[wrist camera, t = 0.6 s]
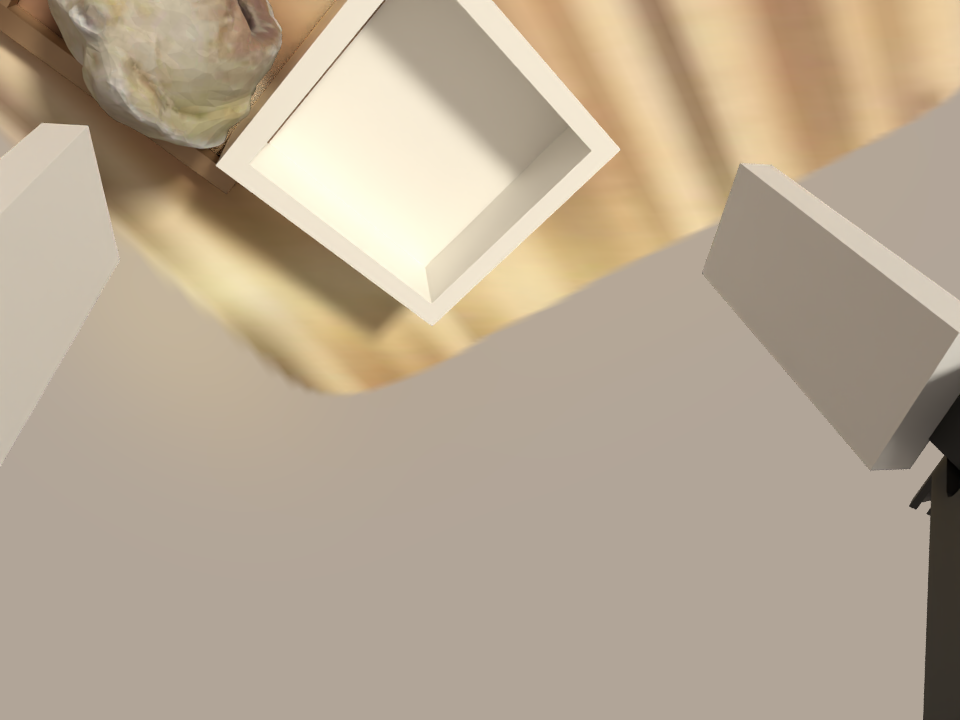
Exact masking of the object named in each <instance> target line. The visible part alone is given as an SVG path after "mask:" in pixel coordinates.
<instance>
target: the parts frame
mask: <svg viewBox="0 0 960 720" xmlns="http://www.w3.org/2000/svg"><path fill="white" fill-rule="evenodd" d="M18 1H19V0H0V31H2V32H3V33H4V34H6V35H7V36H9V37H10V38H11V39H13V40H14V41H15V42H17V43H18V44H20V45H21V46H22V47H24V48H25V49H27V50H28V51H29V52H31V53H32V54H33V55H35V56H36V57H38V58H39V59H40V60H42V61H43V62H44V63H46V64H47V65H49V66H50V67H51V68H53V69H54V70H56V71H57V72H58V73H60V74H61V75H62V76H64V77H65V78H67V79H68V80H69V81H71V82H72V83H73V84H75V85H76V86H78V87H79V88H80V89H82V90H83V91H85V92H86V93H87V94H89V95H90V96H91V97H93V96H92V94H91V93H90V91H89V90H88V88H87V86H86V84H85V82H84V79H83V73H82V67H83V66H82V65H81V64H80V63H79V62H78V61H77V60H76V58H75V57H74V56H73V54H72V53H71V52H70V50H69V49H68V47H67V45H66V43H65V41H64V40H63V39H62V38H61V37H59V36H58V35H57V34H55V33H54V32H53V31H51V30H50V29H49V28H47V27H46V26H45V25H43V24H42V23H41V22H39V21H38V20H37V19H36V18H34V17H33V16H32V15H30V14H29V13H28V12H26V11H25V10H24V9H22V8H21V7H20V6H18V5H17V3H18ZM385 1H386V0H383V2H382V3H381V4H380V5H379V7H378V8H377V9H376V10H375V11H374V13H373V14H372V15H371V16H370V17H369V19H368V20H367V21H366V22H365V24H364V25H363V26H362V27H361V28H360V30H359V31H358V32H357V33H356V35H355V36H354V37H353V38H352V39H351V41H350V42H349V43H348V44H347V46H346V47H345V48H344V49H343V50H342V52H341V53H340V54H339V55H338V57H337V58H336V59H335V60H334V61H333V63H332V64H331V65H330V66H329V68H328V69H327V70H326V71H325V72H324V74H323V75H322V76H321V77H320V78H319V80H318V81H317V82H316V83H315V85H314V86H313V87H312V88H311V89H310V91H309V92H308V93H307V94H306V96H305V97H304V98H303V99H302V100H301V102H300V103H299V104H298V105H297V107H296V108H295V109H294V110H293V111H292V113H291V114H290V115H289V116H288V118H287V119H286V120H285V121H284V122H283V124H282V125H281V126H280V127H279V128H278V130H277V131H276V132H275V133H274V135H273V136H272V137H271V138H270V139H269V141H268V142H267V143H269V142H270V141H271V140H272V138H273V137H274V136H275V135H276V134H277V132H278V131H279V130H280V129H281V127H282V126H283V125H284V124H285V123H286V121H287V120H288V119H289V118H290V117H291V115H292V114H293V113H294V112H295V110H296V109H297V108H298V107H299V106H300V104H301V103H302V102H303V101H304V99H305V98H306V97H307V96H308V95H309V93H310V92H311V91H312V90H313V89H314V87H315V86H316V85H317V84H318V82H319V81H320V80H321V79H322V78H323V76H324V75H325V74H326V73H327V71H328V70H329V69H330V68H331V67H332V65H333V64H334V63H335V62H336V60H337V59H338V58H339V57H340V56H341V54H342V53H343V52H344V51H345V50H346V48H347V47H348V46H349V45H350V43H351V42H352V41H353V40H354V39H355V37H356V36H357V35H358V34H359V32H360V31H361V30H362V29H363V28H364V26H365V25H366V24H367V23H368V22H369V20H370V19H371V18H372V17H373V15H374V14H375V13H376V12H377V11H378V9H379V8H380V7H381V6H382V4H383V3H384V2H385ZM93 98H94V97H93ZM94 99H95V98H94ZM145 136H146V135H145ZM147 137H148V136H147ZM148 138H149V139H151V140H152V141H154V142H155V143H156V144H158V145H159V146H161V147H162V148H163V149H165V150H166V151H167V152H169V153H170V154H172V155H173V156H174V157H176V158H177V159H178V160H180V161H181V162H183V163H184V164H185V165H187V166H188V167H190V168H191V169H192V170H194V171H195V172H196V173H198V174H199V175H201V176H202V177H203V178H205V179H206V180H207V181H209V182H210V183H212V184H213V185H214V186H216V187H217V188H219V189H220V190H221V191H223V192H224V193H225V194H227V193H228V192H229V191H230V190H231V188H232V187H233V186H234V185H235V183H236V182H237V181H236V180H234V179H233V178H232V177H230V176H229V175H228V174H226V173H225V172H223V171H222V170H221V169H219V168H218V167H217V166H216V164H217V162H218V160H219V158H220V157H219V156H218V155H216V154H215V153H214V152H212V151H211V150H210V149H208V148H204V149H199V148H193V147H187V146H181V145H176V144H173V143H171V142H168V141H164V140H159V139H155V138H151V137H148Z"/></svg>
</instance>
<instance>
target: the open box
mask: <svg viewBox="0 0 960 720" xmlns="http://www.w3.org/2000/svg"><path fill="white" fill-rule="evenodd" d="M382 2H383V0H336V1H335V2H334V3H333V4H332V6H331V7H330V8H329V9H328V11H327V12H326V13H325V14H324V16H323V17H322V18H321V20H320V21H319V22H318V23H317V25H316V26H315V27H314V28H313V30H312V31H311V32H310V33H309V35H308V36H307V37H306V39H305V40H304V41H303V42H302V44H301V45H300V46H299V47H298V49H297V50H296V51H295V52H294V54H293V55H292V56H291V58H290V59H289V60H288V61H287V63H286V64H285V65H284V66H283V68H282V69H281V70H280V71H279V73H278V74H277V75H276V77H275V78H274V79H273V80H272V82H271V83H270V84H269V85H268V87H267V88H266V89H265V90H264V92H263V93H262V94H261V96H260V97H259V98H258V99H257V101H256V102H255V103H254V104H253V106H252V107H251V109H250V113H249V114H248V116H247V117H246V118H244V119H243V120H241V121H240V122H239V123H238V125H237V126H236V127H235V128H234V130H233V131H232V133H231V135H230V137H229V139H228V141H227V143H226V145H225V147H224V149H223V151H222V154H221V156H220V158H219V160H218V162H217V164H216V166H217V167H218V168H219V169H221V170H222V171H223V172H225V173H226V174H228V175H229V176H230V177H232V178H233V179H234V180H236V181H237V182H238V183H240V184H241V185H242V186H244V187H245V188H246V189H248V190H249V191H250V192H252V193H253V194H254V195H256V196H257V197H259V198H260V199H261V200H263V201H264V202H265V203H267V204H268V205H269V206H271V207H272V208H273V209H275V210H276V211H277V212H279V213H280V214H281V215H283V216H284V217H285V218H287V219H288V220H290V221H291V222H292V223H294V224H295V225H296V226H298V227H299V228H300V229H302V230H303V231H304V232H306V233H307V234H308V235H310V236H311V237H312V238H314V239H315V240H316V241H318V242H319V243H321V244H322V245H323V246H325V247H326V248H327V249H329V250H330V251H331V252H333V253H334V254H335V255H337V256H338V257H339V258H341V259H342V260H343V261H345V262H346V263H347V264H349V265H350V266H352V267H353V268H354V269H356V270H357V271H358V272H360V273H361V274H362V275H364V276H365V277H366V278H368V279H369V280H370V281H372V282H373V283H374V284H376V285H377V286H378V287H380V288H381V289H383V290H384V291H385V292H387V293H388V294H389V295H391V296H392V297H393V298H395V299H396V300H397V301H399V302H400V303H401V304H403V305H404V306H405V307H407V308H408V309H410V310H411V311H412V312H414V313H415V314H416V315H418V316H419V317H420V318H422V319H423V320H424V321H426V322H427V323H428V324H430V325H431V326H433V325H434V324H435V323H436V322H437V321H438V320H440V319H441V318H442V317H443V316H444V315H445V314H446V313H447V312H448V311H449V310H450V309H451V308H452V307H453V306H454V305H456V304H457V303H458V302H459V301H460V300H461V299H462V298H463V297H464V296H465V295H466V294H467V293H468V292H469V291H470V290H472V289H473V288H474V287H475V286H476V285H477V284H478V283H479V282H480V281H481V280H482V279H483V278H484V277H485V276H486V275H488V274H489V273H490V272H491V271H492V270H493V269H494V268H495V267H496V266H497V265H498V264H499V263H500V262H501V261H503V260H504V259H505V258H506V257H507V256H508V255H509V254H510V253H511V252H512V251H513V250H514V249H515V248H516V247H517V246H519V245H520V244H521V243H522V242H523V241H524V240H525V239H526V238H527V237H528V236H529V235H530V234H531V233H532V232H533V231H535V230H536V229H537V228H538V227H539V226H540V225H541V224H542V223H543V222H544V221H545V220H546V219H547V218H548V217H549V216H551V215H552V214H553V213H554V212H555V211H556V210H557V209H558V208H559V207H560V206H561V205H562V204H563V203H564V202H565V201H567V200H568V199H569V198H570V197H571V196H572V195H573V194H574V193H575V192H576V191H577V190H578V189H579V188H580V187H581V186H583V185H584V184H585V183H586V182H587V181H588V180H589V179H590V178H591V177H592V176H593V175H594V174H595V173H596V172H597V171H599V170H600V169H601V168H602V167H603V166H604V165H605V164H606V163H607V162H608V161H609V160H610V159H611V158H612V157H613V156H615V155H616V154H617V153H618V152H619V151H620V148H619V147H618V146H617V145H616V144H615V143H614V141H613V140H612V139H611V138H610V137H609V136H608V134H607V133H606V132H605V131H604V130H603V129H602V127H601V126H600V125H599V124H598V123H597V122H596V121H595V119H594V118H593V117H592V116H591V115H590V114H589V112H588V111H587V110H586V109H585V108H584V107H583V105H582V104H581V103H580V102H579V101H578V100H577V98H576V97H575V96H574V95H573V94H572V93H571V91H570V90H569V89H568V88H567V87H566V86H565V85H564V83H563V82H562V81H561V80H560V79H559V78H558V76H557V75H556V74H555V73H554V72H553V71H552V69H551V68H550V67H549V66H548V65H547V64H546V62H545V61H544V60H543V59H542V58H541V57H540V56H539V54H538V53H537V52H536V51H535V50H534V49H533V47H532V46H531V45H530V44H529V43H528V42H527V40H526V39H525V38H524V37H523V36H522V35H521V33H520V32H519V31H518V30H517V29H516V28H515V27H514V25H513V24H512V23H511V22H510V21H509V20H508V18H507V17H506V16H505V15H504V14H503V13H502V11H501V10H500V9H499V8H498V7H497V6H496V4H495V3H494V2H493V1H492V0H386V1H385V2H384V3H383V4H382V6H381V7H380V8H379V9H378V11H377V12H376V13H375V14H374V15H373V17H372V18H371V19H370V20H369V22H368V23H367V24H366V25H365V26H364V28H363V29H362V30H361V31H360V32H359V34H358V35H357V36H356V37H355V39H354V40H353V41H352V42H351V43H350V45H349V46H348V47H347V48H346V50H345V51H344V52H343V53H342V54H341V56H340V57H339V58H338V59H337V60H336V62H335V63H334V64H333V65H332V67H331V68H330V69H329V70H328V71H327V73H326V74H325V75H324V76H323V78H322V79H321V80H320V81H319V82H318V84H317V85H316V86H315V87H314V89H313V90H312V91H311V92H310V93H309V95H308V96H307V97H306V98H305V99H304V101H303V102H302V103H301V104H300V106H299V107H298V108H297V109H296V110H295V112H294V113H293V114H292V115H291V117H290V118H289V119H288V120H287V121H286V123H285V124H284V125H283V126H282V127H281V129H280V130H279V131H278V132H277V134H276V135H275V136H274V137H273V138H272V140H271V141H270V142H269V143H267V142H268V141H269V139H270V138H271V137H272V136H273V135H274V133H275V132H276V131H277V130H278V128H279V127H280V126H281V125H282V124H283V122H284V121H285V120H286V119H287V118H288V116H289V115H290V114H291V113H292V111H293V110H294V109H295V108H296V107H297V105H298V104H299V103H300V102H301V100H302V99H303V98H304V97H305V96H306V94H307V93H308V92H309V91H310V89H311V88H312V87H313V86H314V85H315V83H316V82H317V81H318V80H319V78H320V77H321V76H322V75H323V74H324V72H325V71H326V70H327V69H328V68H329V66H330V65H331V64H332V63H333V61H334V60H335V59H336V58H337V57H338V55H339V54H340V53H341V52H342V50H343V49H344V48H345V47H346V46H347V44H348V43H349V42H350V41H351V39H352V38H353V37H354V36H355V35H356V33H357V32H358V31H359V30H360V28H361V27H362V26H363V25H364V24H365V22H366V21H367V20H368V19H369V17H370V16H371V15H372V14H373V13H374V11H375V10H376V9H377V8H378V7H379V5H380V4H381V3H382Z"/></svg>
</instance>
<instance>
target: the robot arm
mask: <svg viewBox="0 0 960 720" xmlns="http://www.w3.org/2000/svg"><path fill="white" fill-rule="evenodd" d="M119 261H120V258H119V254H118V250H117V245H116V241H115V237H114V233H113V228H112V224H111V220H110V216H109V211H108V207H107V203H106V199H105V194H104V190H103V186H102V182H101V177H100V173H99V169H98V165H97V160H96V156H95V152H94V148H93V143H92V139H91V135H90V131H89V126H86V125H69V124H52V123H41V124H40V125H39V126H38V127H36V128H35V129H34V130H33V131H32V132H31V133H29V134H28V135H27V136H26V137H25V138H24V139H22V140H21V141H20V142H19V143H18V144H16V145H15V146H14V147H13V148H12V149H11V150H9V151H8V152H7V153H6V154H5V155H4V156H2V157H1V158H0V467H1V465H2V463H3V462H4V460H5V458H6V456H7V455H8V453H9V451H10V450H11V448H12V446H13V444H14V443H15V441H16V439H17V438H18V436H19V434H20V432H21V430H22V429H23V427H24V425H25V424H26V422H27V420H28V419H29V417H30V415H31V413H32V412H33V410H34V408H35V406H36V405H37V403H38V401H39V399H40V398H41V396H42V394H43V392H44V391H45V389H46V387H47V385H48V384H49V382H50V380H51V379H52V377H53V375H54V373H55V372H56V370H57V368H58V367H59V365H60V363H61V361H62V360H63V358H64V356H65V354H66V353H67V351H68V349H69V348H70V346H71V344H72V342H73V341H74V339H75V337H76V336H77V334H78V332H79V330H80V328H81V327H82V325H83V323H84V322H85V320H86V318H87V316H88V314H89V313H90V311H91V310H92V308H93V306H94V304H95V302H96V301H97V299H98V297H99V296H100V294H101V292H102V291H103V289H104V287H105V285H106V284H107V282H108V280H109V278H110V277H111V275H112V273H113V271H114V270H115V268H116V266H117V265H118V263H119ZM702 274H703V275H704V276H705V277H706V279H707V280H708V281H709V282H710V283H711V284H712V286H713V287H714V288H715V289H716V290H717V291H718V293H719V294H720V295H721V296H722V297H723V298H724V300H725V301H726V302H727V303H728V304H729V306H730V307H731V308H732V309H733V310H734V311H735V313H736V314H737V315H738V316H739V317H740V318H741V320H742V321H743V322H744V323H745V324H746V326H747V327H748V328H749V329H750V330H751V331H752V333H753V334H754V335H755V336H756V337H757V338H758V339H759V341H760V342H761V343H762V344H763V345H764V347H765V348H766V349H767V350H768V351H769V352H770V354H771V355H772V356H773V357H774V358H775V360H776V361H777V362H778V363H779V364H780V365H781V366H782V368H783V369H784V370H785V371H786V372H787V374H788V375H789V376H790V377H791V378H792V379H793V380H794V382H795V383H796V384H797V385H798V386H799V388H800V389H801V390H802V391H803V392H804V393H805V395H806V396H807V397H808V398H809V399H810V401H811V402H812V403H813V404H814V405H815V406H816V408H817V409H818V410H819V411H820V412H821V413H822V415H823V416H824V417H825V418H826V419H827V420H828V422H829V423H830V424H831V425H832V426H833V427H834V429H835V430H836V431H837V432H838V433H839V435H840V436H841V437H842V438H843V439H844V440H845V442H846V443H847V444H848V445H849V446H850V447H851V449H852V450H853V451H854V452H855V453H856V454H857V456H858V457H859V458H860V459H861V460H862V461H863V463H864V464H865V465H866V466H867V467H868V469H869V470H892V469H893V470H894V469H910V468H911V467H912V465H913V464H914V462H915V461H916V459H917V458H918V456H919V455H920V454H921V452H922V451H923V449H924V448H925V446H926V445H927V444H928V442H929V441H931V442H932V443H933V444H934V445H935V446H936V447H937V448H938V449H939V450H940V451H941V452H942V453H943V454H944V457H943V458H942V459H941V461H940V462H939V464H938V465H937V466H936V468H935V469H934V470H933V472H932V473H931V475H930V476H929V477H928V479H927V480H926V481H925V483H924V484H923V486H922V487H921V489H920V490H919V491H918V493H917V494H916V495H915V497H914V498H913V500H912V501H911V504H910V505H909V506H910V507H912V508H914V509H917V508H918V506H919V505H920V504H921V502H926V501H931V508H930V509H929V511H928V512H927V514H928V515H930V516H931V517H930V545H929V573H928V600H927V601H928V602H927V628H926V656H925V684H924V714H923V720H960V300H958V299H957V298H955V297H954V296H953V295H951V294H950V293H948V292H947V291H946V290H944V289H943V288H941V287H940V286H939V285H937V284H936V283H935V282H933V281H932V280H930V279H929V278H928V277H926V276H925V275H923V274H922V273H921V272H919V271H918V270H917V269H915V268H914V267H912V266H911V265H910V264H908V263H907V262H905V261H904V260H903V259H901V258H900V257H898V256H897V255H896V254H894V253H893V252H891V251H890V250H889V249H887V248H886V247H885V246H883V245H882V244H880V243H879V242H877V241H876V240H875V239H874V238H872V237H871V236H869V235H868V234H867V233H865V232H864V231H862V230H861V229H860V228H858V227H857V226H855V225H854V224H853V223H851V222H850V221H849V220H847V219H846V218H844V217H843V216H841V215H840V214H839V213H838V212H836V211H835V210H833V209H832V208H831V207H829V206H828V205H826V204H825V203H823V202H822V201H821V200H819V199H818V198H817V197H815V196H814V195H812V194H811V193H809V192H808V191H807V190H806V189H804V188H803V187H801V186H800V185H799V184H797V183H796V182H795V181H793V180H792V179H790V178H789V177H788V176H786V175H785V174H783V173H782V172H781V171H779V170H778V169H776V168H775V167H774V166H772V165H765V164H748V163H740V165H739V168H738V171H737V174H736V177H735V180H734V182H733V185H732V188H731V191H730V194H729V197H728V200H727V203H726V205H725V208H724V211H723V214H722V217H721V220H720V223H719V226H718V229H717V232H716V234H715V237H714V240H713V243H712V246H711V249H710V252H709V255H708V257H707V260H706V263H705V266H704V269H703V272H702Z"/></svg>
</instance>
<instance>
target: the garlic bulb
mask: <svg viewBox="0 0 960 720" xmlns="http://www.w3.org/2000/svg"><path fill="white" fill-rule="evenodd" d="M48 4H49V8H50V11H51V14H52V16H53V18H54V20H55V22H56V23H57V25H58V27H59V30H60V32H61V34H62V36H63V38H64V41H65V43H66V45H67V47H68V49H69V50H70V52H71V53H72V54H73V56H74V57H75V58H76V60H77V61H78V62H79V63H80V64H81V65H82V66H83V67H82V73H83V79H84V82H85V84H86V86H87V88H88V90H89V91H90V93H91V94H92V96H93V97H94V98H95V100H96V101H97V102H98V104H99V105H100V107H101V108H102V109H103V110H104V111H105V112H106V113H107V114H108V115H109V116H111V117H112V118H113V119H114V120H116V121H118V122H120V123H122V124H125V125H127V126H129V127H131V128H133V129H134V130H136V131H138V132H140V133H142V134H144V135H146V136H148V137H151V138H155V139H159V140H164V141H168V142H171V143H173V144H176V145H181V146H187V147H193V148H199V149H204V148H211V147H216V146H219V145H221V144H222V143H224V141H225V139H226V136H227V133H228V131H229V129H230V128H231V127H233V126H234V125H236V124H237V123H239V122H240V121H241V120H243V119H244V118H246V117H247V116H248V114H249V113H250V109H251V104H250V103H251V96H252V95H253V94H254V92H255V90H256V85H257V84H258V83H259V81H260V80H261V79H262V78H263V77H264V76H265V75H266V73H267V72H268V71H269V70H270V69H271V67H272V65H273V62H274V60H275V58H276V56H277V54H278V52H279V50H280V47H281V44H282V33H281V32H282V29H281V27H280V25H279V23H278V21H277V20H276V19H275V18H274V14H273V10H272V7H271V5H270V3H269V1H268V0H48Z"/></svg>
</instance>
